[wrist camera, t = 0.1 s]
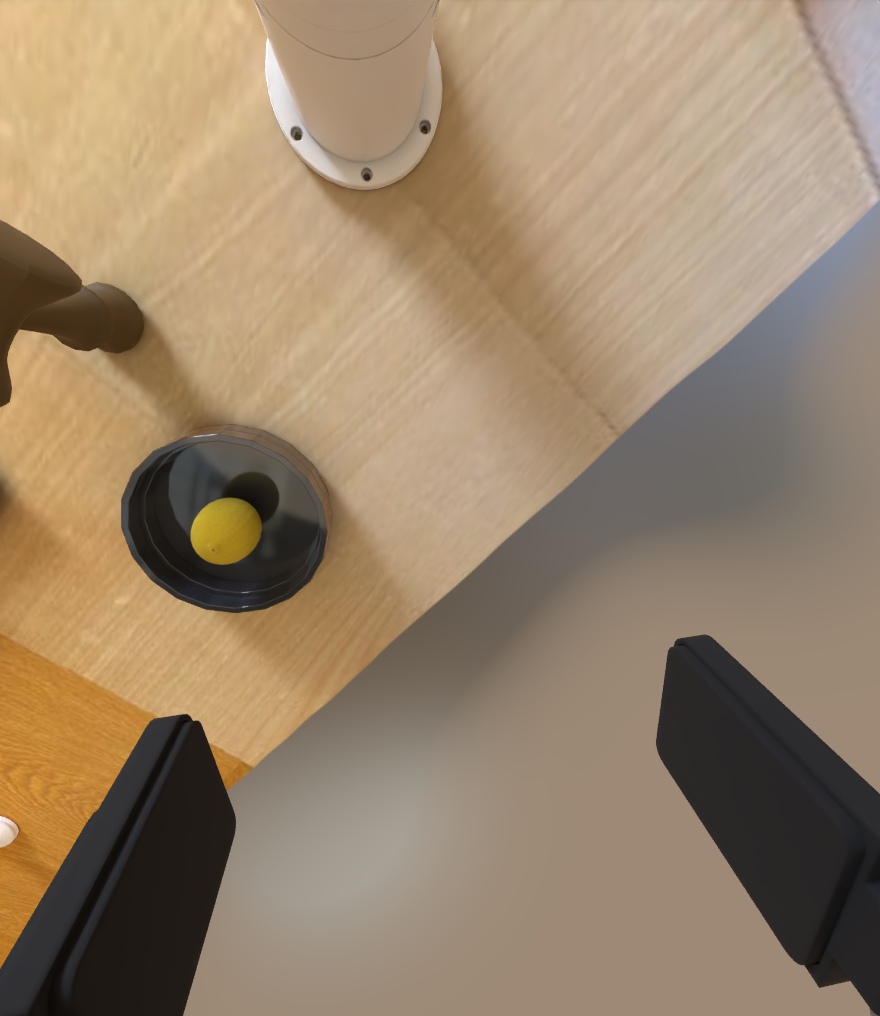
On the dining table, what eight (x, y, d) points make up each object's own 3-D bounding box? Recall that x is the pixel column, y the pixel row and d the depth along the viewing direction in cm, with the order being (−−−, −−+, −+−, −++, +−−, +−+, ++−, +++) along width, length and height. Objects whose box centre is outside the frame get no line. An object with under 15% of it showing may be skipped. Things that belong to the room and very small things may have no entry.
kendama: (178, 296, 37) (-17, 267, 19) (119, 389, 39) (-109, 443, 21) (106, 240, 36) (-190, 148, 17) (47, 341, 38) (-274, 355, 19)
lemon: (257, 547, 46) (234, 589, 39) (202, 525, 44) (166, 564, 37) (279, 501, 44) (258, 535, 37) (221, 476, 43) (189, 507, 36)
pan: (119, 434, 41) (90, 447, 37) (314, 414, 42) (307, 424, 38) (176, 598, 47) (157, 624, 43) (343, 576, 49) (340, 599, 45)
